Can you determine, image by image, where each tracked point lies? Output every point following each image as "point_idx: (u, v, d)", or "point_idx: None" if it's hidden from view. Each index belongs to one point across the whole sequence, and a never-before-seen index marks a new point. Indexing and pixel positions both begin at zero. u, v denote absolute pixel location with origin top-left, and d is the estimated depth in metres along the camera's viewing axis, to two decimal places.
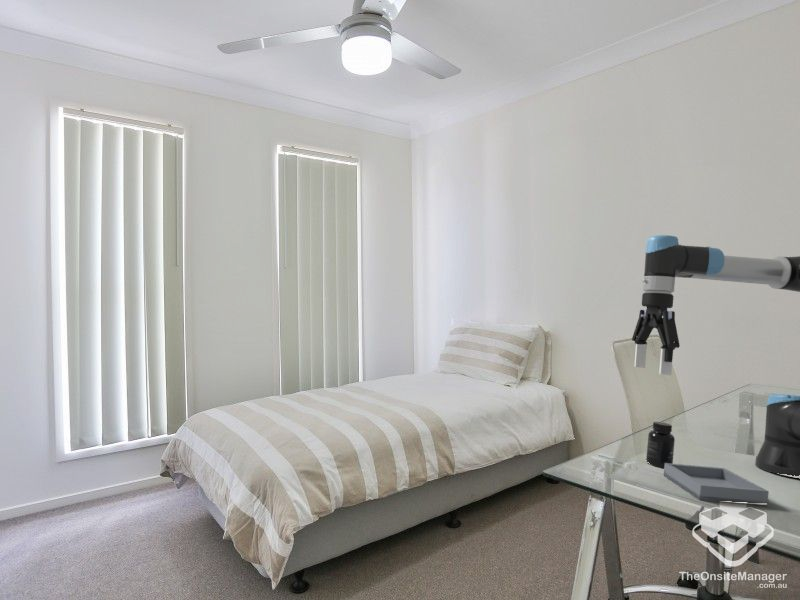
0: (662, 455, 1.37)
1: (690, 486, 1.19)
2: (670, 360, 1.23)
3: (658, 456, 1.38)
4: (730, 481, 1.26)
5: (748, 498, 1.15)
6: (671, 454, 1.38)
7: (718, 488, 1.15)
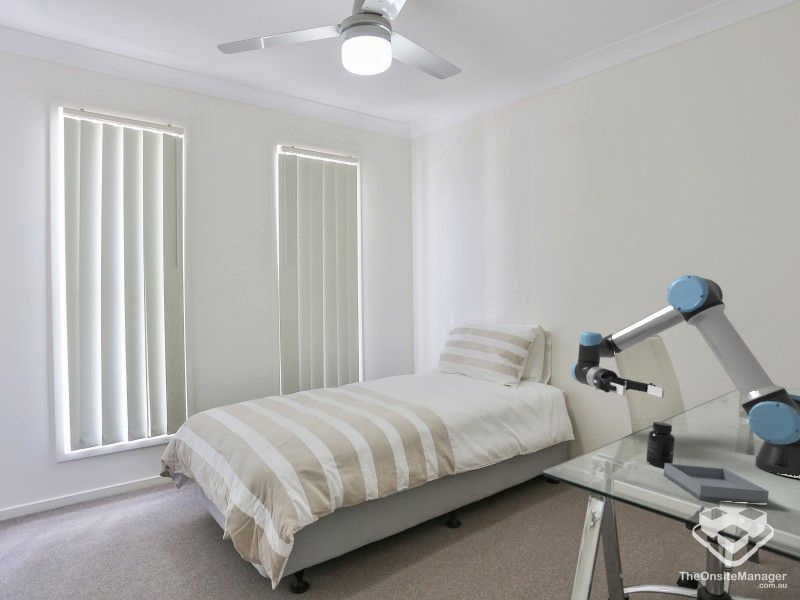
0: (662, 455, 1.37)
1: (690, 486, 1.19)
2: (612, 387, 1.52)
3: (658, 456, 1.38)
4: (730, 481, 1.26)
5: (748, 498, 1.15)
6: (671, 454, 1.38)
7: (718, 488, 1.15)
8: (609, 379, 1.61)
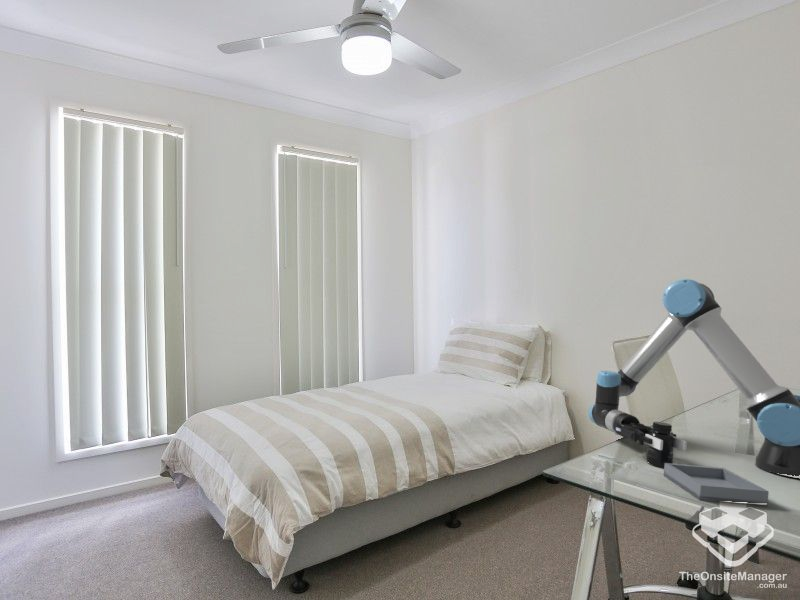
0: (662, 455, 1.37)
1: (690, 486, 1.19)
2: (647, 440, 1.39)
3: (658, 456, 1.38)
4: (730, 481, 1.26)
5: (748, 498, 1.15)
6: (671, 454, 1.38)
7: (718, 488, 1.15)
8: (635, 427, 1.48)
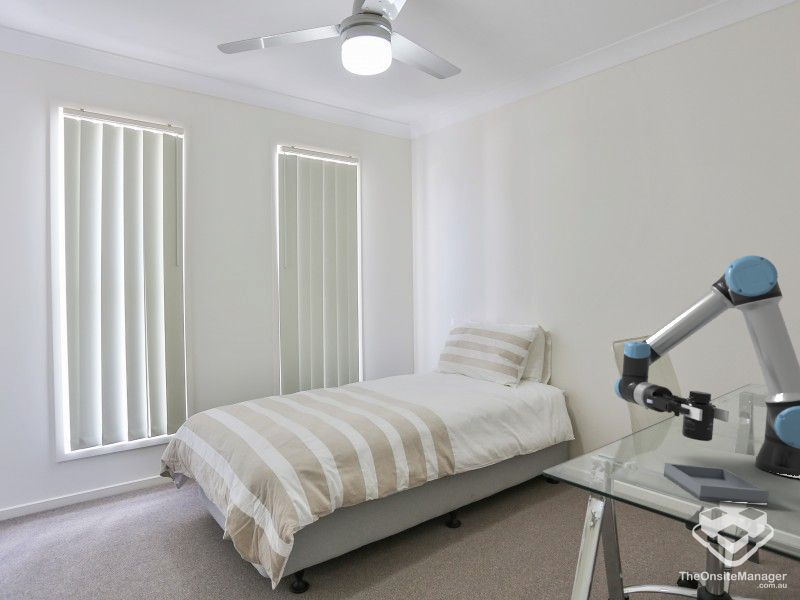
0: (700, 427, 1.24)
1: (690, 486, 1.19)
2: (684, 410, 1.25)
3: (697, 427, 1.24)
4: (730, 481, 1.26)
5: (748, 498, 1.15)
6: (711, 425, 1.24)
7: (718, 488, 1.15)
8: (669, 398, 1.35)
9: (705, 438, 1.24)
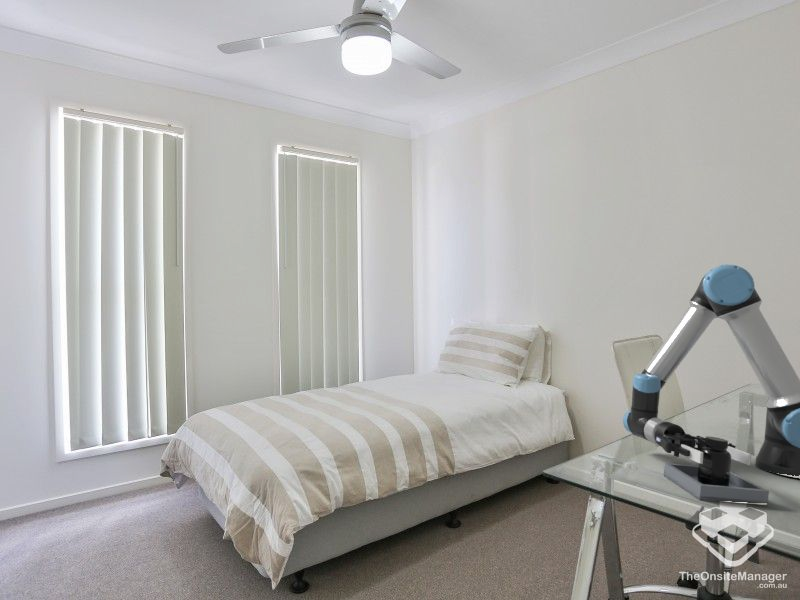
0: (717, 476, 1.20)
1: (690, 486, 1.19)
2: (684, 451, 1.22)
3: (713, 476, 1.20)
4: (730, 481, 1.26)
5: (748, 498, 1.15)
6: (728, 474, 1.20)
7: (718, 488, 1.15)
8: (677, 438, 1.31)
9: None
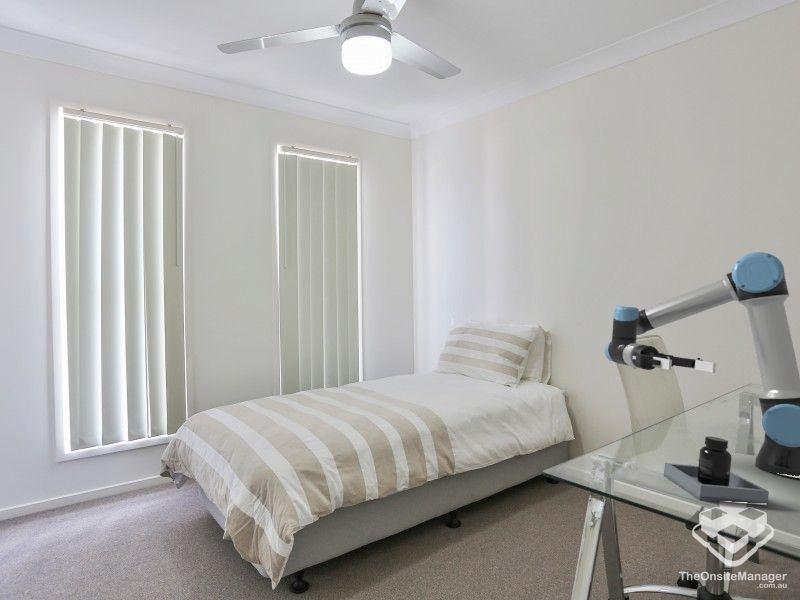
0: (717, 476, 1.20)
1: (690, 486, 1.19)
2: (656, 361, 1.35)
3: (713, 476, 1.20)
4: (730, 481, 1.26)
5: (748, 498, 1.15)
6: (728, 474, 1.20)
7: (718, 488, 1.15)
8: (650, 354, 1.44)
9: None
